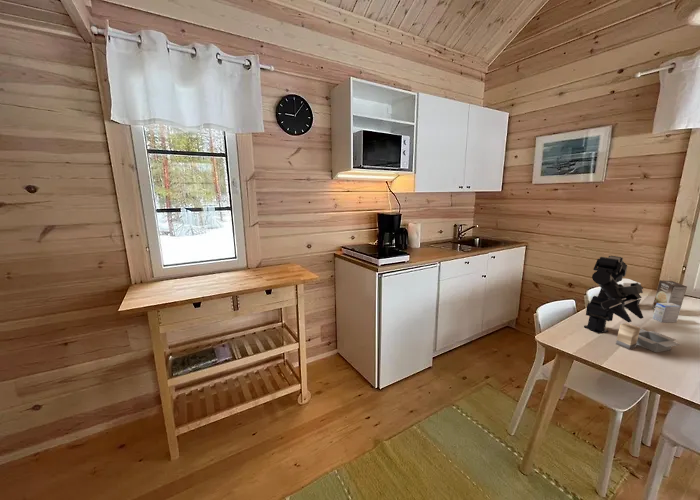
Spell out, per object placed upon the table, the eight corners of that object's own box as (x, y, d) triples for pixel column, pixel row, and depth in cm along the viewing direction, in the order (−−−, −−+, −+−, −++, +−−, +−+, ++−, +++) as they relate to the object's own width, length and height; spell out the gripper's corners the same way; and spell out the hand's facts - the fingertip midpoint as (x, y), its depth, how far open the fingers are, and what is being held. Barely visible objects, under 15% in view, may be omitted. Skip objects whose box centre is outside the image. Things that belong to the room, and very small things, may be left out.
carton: (658, 356, 113) (661, 347, 112) (619, 339, 126) (621, 330, 125) (682, 352, 116) (685, 343, 115) (642, 335, 129) (644, 327, 128)
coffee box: (651, 307, 161) (658, 279, 158) (665, 308, 160) (672, 280, 156) (665, 314, 152) (673, 285, 149) (679, 315, 151) (688, 286, 148)
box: (628, 349, 117) (633, 329, 116) (615, 344, 122) (620, 324, 120) (635, 347, 119) (640, 327, 117) (622, 342, 123) (626, 322, 121)
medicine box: (666, 318, 147) (671, 302, 145) (676, 322, 143) (681, 306, 141) (652, 318, 147) (656, 302, 145) (661, 322, 143) (665, 306, 141)
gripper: (616, 278, 114) (646, 316, 106) (640, 274, 121) (670, 308, 114) (589, 291, 122) (615, 326, 115) (613, 286, 130) (639, 319, 122)
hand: (636, 320), depth 116 cm, fingers open, 9 cm apart
